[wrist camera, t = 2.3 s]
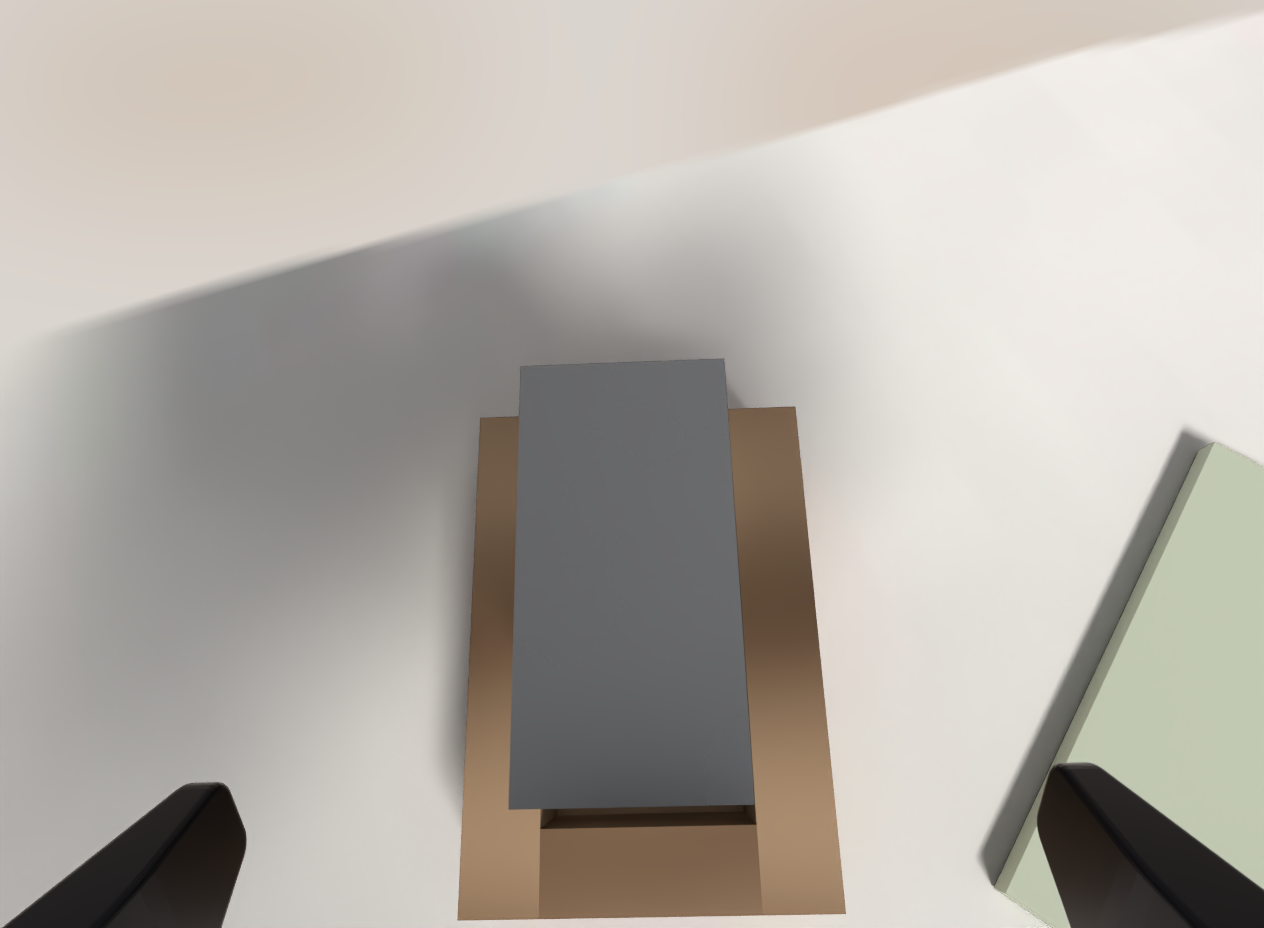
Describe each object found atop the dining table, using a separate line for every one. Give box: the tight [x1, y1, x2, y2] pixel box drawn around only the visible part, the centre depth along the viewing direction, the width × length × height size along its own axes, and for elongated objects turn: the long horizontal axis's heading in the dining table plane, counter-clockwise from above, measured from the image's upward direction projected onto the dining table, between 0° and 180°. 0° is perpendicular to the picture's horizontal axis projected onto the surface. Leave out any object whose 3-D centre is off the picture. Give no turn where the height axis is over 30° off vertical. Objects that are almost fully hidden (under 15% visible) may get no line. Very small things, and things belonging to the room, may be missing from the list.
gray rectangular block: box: [508, 359, 755, 810], centre depth 13 cm, size 5×2×10 cm, turn 1°
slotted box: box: [458, 407, 846, 920], centre depth 17 cm, size 10×7×3 cm
